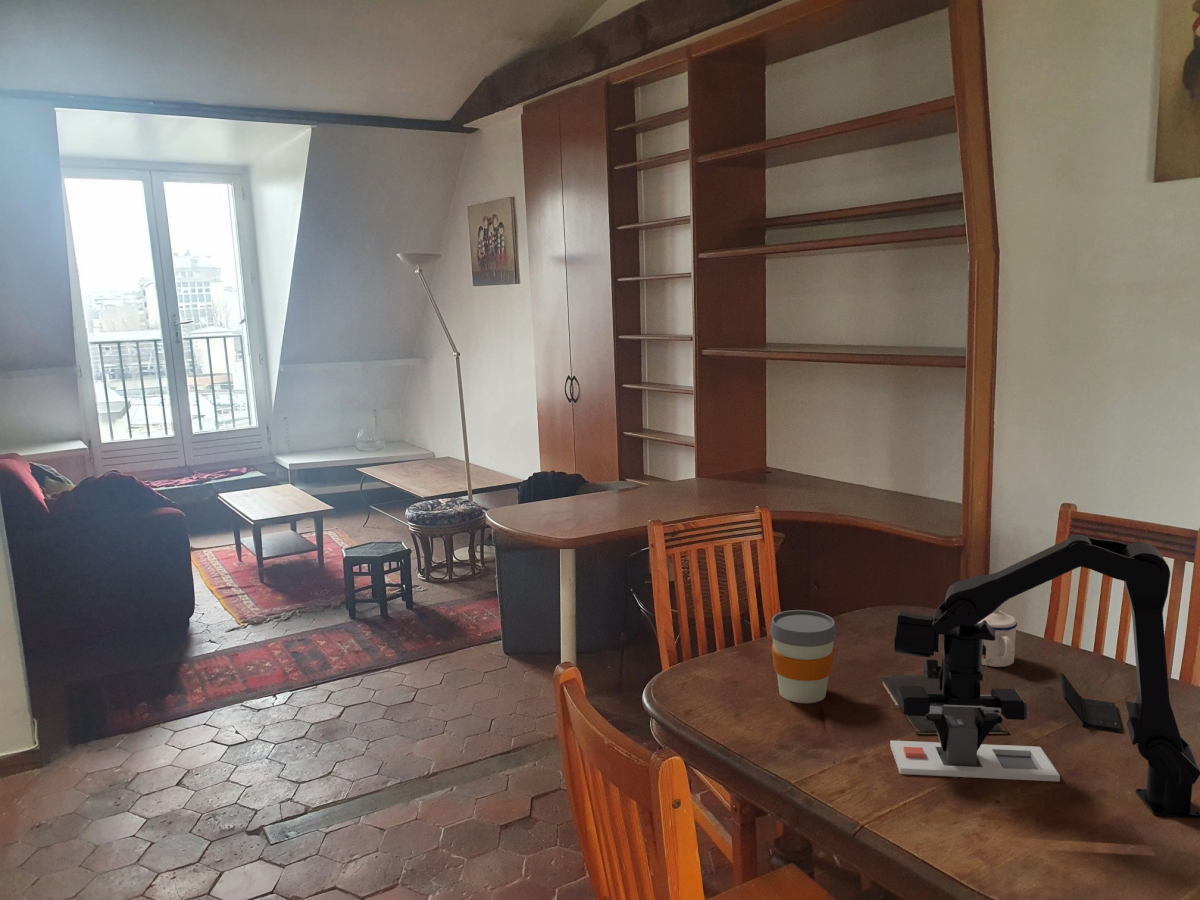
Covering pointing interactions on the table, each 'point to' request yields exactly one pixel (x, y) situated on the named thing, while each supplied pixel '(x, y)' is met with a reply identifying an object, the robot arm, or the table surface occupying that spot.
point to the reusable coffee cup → (802, 654)
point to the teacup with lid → (999, 640)
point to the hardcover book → (930, 687)
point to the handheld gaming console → (1091, 709)
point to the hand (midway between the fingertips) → (958, 750)
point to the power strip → (989, 758)
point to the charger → (960, 741)
